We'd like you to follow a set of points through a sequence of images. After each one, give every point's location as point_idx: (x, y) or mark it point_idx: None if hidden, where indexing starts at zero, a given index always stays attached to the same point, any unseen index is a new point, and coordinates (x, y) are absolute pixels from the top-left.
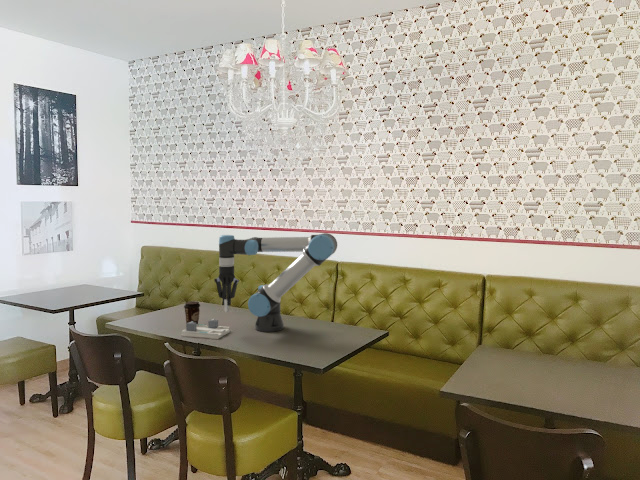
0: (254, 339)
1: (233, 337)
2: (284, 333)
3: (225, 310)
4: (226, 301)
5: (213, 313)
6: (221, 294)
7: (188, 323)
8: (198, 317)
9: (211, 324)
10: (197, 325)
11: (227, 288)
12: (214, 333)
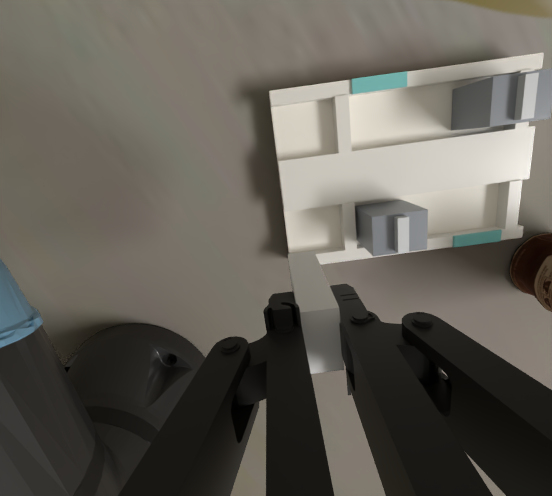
0: (73, 183)
1: (205, 168)
2: None
3: (303, 257)
4: (302, 300)
5: None
6: (437, 385)
7: (539, 76)
8: (547, 293)
9: (393, 207)
10: (499, 227)
11: (313, 474)
12: (295, 94)
